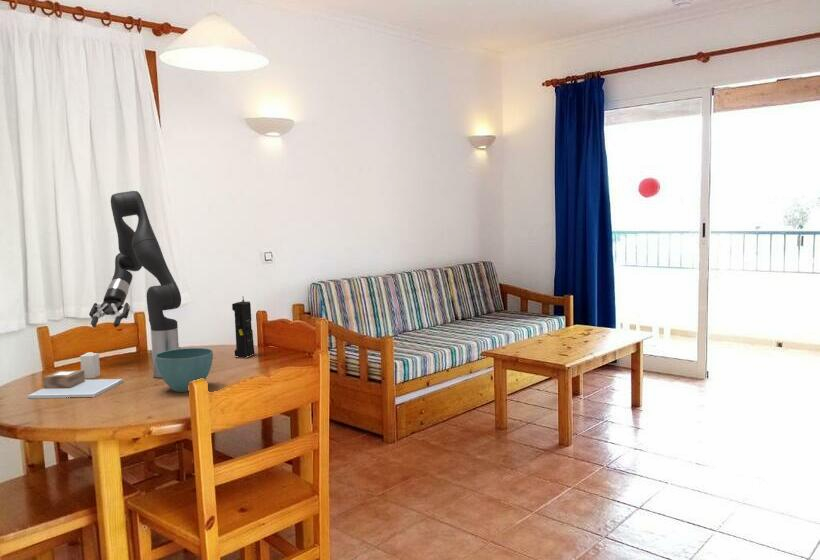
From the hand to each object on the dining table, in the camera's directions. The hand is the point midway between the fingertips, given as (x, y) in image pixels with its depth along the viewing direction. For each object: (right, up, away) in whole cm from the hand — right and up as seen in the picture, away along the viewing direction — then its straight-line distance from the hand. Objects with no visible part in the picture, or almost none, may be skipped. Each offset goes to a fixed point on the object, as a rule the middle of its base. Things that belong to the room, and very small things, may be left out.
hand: (104, 326), depth 245 cm
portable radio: (+49, -14, +19) cm, 54 cm away
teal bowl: (+43, -19, -31) cm, 56 cm away
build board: (+5, -20, -29) cm, 35 cm away
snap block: (0, -18, -11) cm, 21 cm away
